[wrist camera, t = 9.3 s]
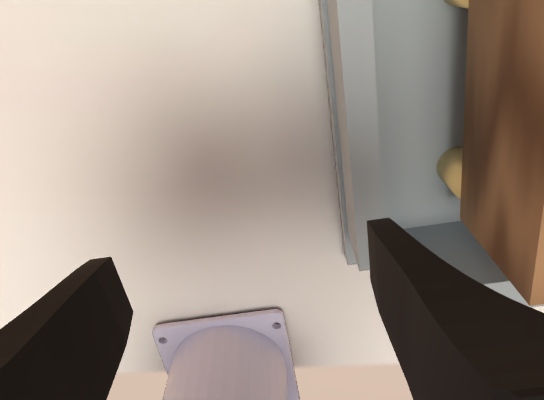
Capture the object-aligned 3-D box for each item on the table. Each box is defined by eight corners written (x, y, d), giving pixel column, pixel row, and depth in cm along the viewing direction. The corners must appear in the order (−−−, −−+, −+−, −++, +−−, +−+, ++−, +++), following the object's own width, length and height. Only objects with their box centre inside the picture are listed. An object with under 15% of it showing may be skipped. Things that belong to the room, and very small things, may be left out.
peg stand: (602, 218, 24) (700, 289, 18) (344, 254, 25) (366, 331, 19) (694, -215, 16) (916, -315, 10) (304, -139, 16) (323, -194, 11)
